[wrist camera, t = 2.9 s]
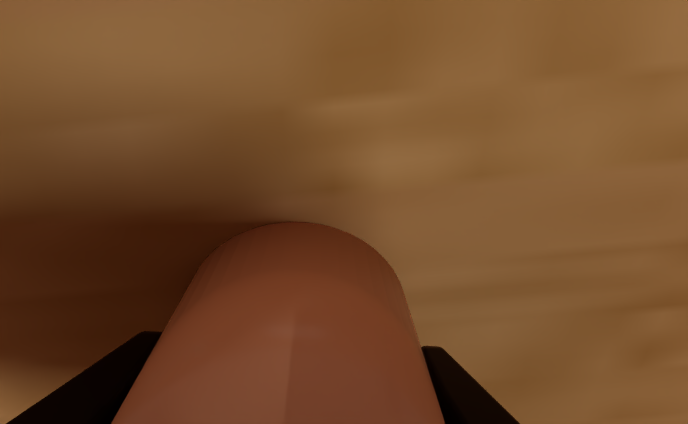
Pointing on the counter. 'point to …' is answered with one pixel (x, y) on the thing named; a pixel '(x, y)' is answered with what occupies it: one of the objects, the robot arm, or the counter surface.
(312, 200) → the counter surface
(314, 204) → the counter surface
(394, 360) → the spice jar
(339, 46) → the counter surface
